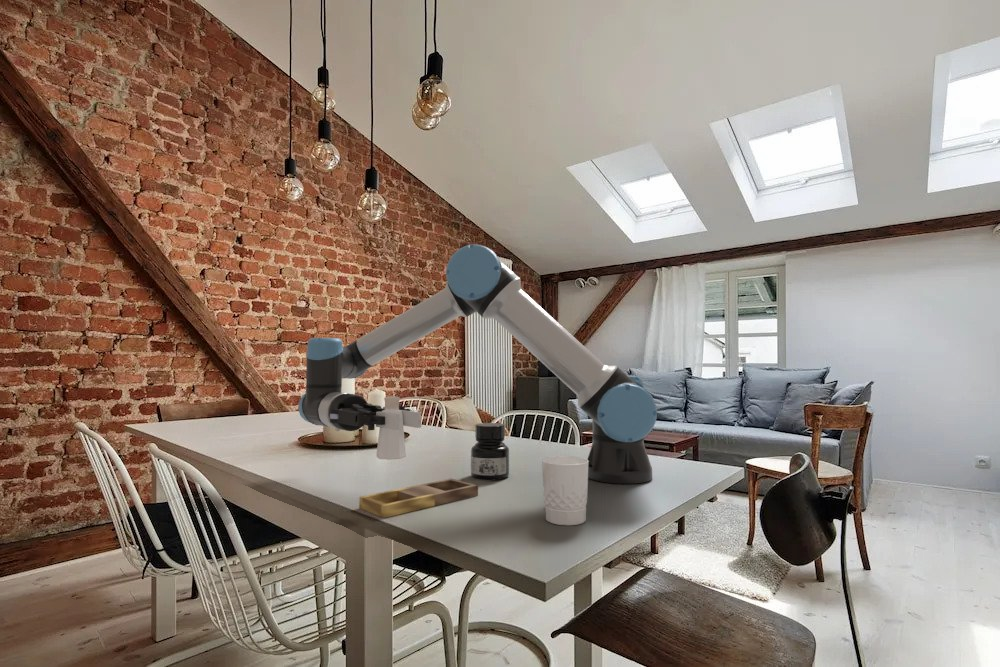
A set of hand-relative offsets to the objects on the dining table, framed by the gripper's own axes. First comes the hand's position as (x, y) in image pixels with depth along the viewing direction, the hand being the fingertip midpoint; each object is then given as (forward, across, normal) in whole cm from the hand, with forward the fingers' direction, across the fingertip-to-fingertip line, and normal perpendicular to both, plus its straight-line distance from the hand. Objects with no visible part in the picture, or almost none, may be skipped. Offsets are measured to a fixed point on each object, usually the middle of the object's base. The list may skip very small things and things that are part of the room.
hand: (408, 421), depth 93 cm
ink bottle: (-12, -31, -16) cm, 37 cm away
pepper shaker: (-5, 0, -7) cm, 9 cm away
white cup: (+21, -17, -16) cm, 32 cm away
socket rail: (-5, -7, -16) cm, 18 cm away
